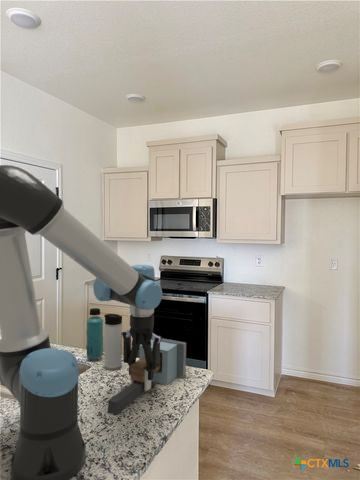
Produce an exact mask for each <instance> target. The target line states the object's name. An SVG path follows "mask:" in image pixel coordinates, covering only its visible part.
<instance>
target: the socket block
mask: <svg viewBox="0 0 360 480" xmlns="http://www.w3.org/2000/svg"><path fill="white" fill-rule="evenodd" d="M152 341H153V340H151V350H152V351H153V342H152ZM160 353H162V368H161V369H160V370H158V371H157V372H156V373H154V374H153V379H152V380H151V382H153V383H158V384H161V385H166V386H168V385H169V384H171V382H173V381H174V380H175V379H176V378H178V377H177V344H172V343H166V342H160ZM138 354H139V356H138V360H139V359H141V358H143V357H144V356H145V354H144V349H143V348H142V345H141V344H140V345H139V349H138Z"/></svg>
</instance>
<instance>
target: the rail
mask: <svg viewBox="0 0 360 480" xmlns="http://www.w3.org/2000/svg"><path fill="white" fill-rule="evenodd" d="M145 392H146V391H145V381H144V382H143V383H142V382H139V381H134V382H133V383H132V384H131V383H130V384H129V385H128V386H126V387H125V388H123V389H122V390H120V391H118V392H117V394H115V395H114V396H112V397H110V398H109V399H108V401H107V413H108V414H111V415H115V416H117V415H118V414H120V413H121V412H122V411H123V410H124V409H126V408H127V407H128V406H129V405H130V404H132V403H133V402H135V401H136V400H137V399H138V398H139V397H140V396H141V395H143V394H144V393H145Z"/></svg>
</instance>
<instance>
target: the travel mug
mask: <svg viewBox="0 0 360 480" xmlns="http://www.w3.org/2000/svg"><path fill="white" fill-rule="evenodd" d="M103 316H104V362H103V363H104V370H106V371H117V370H118V371H119V370H120V369H121V368H122V366H123V365H122V361H123V360H122V359H123V358H122V357H123V355H122V354H123V351H122V350H123V349H122V348H123V336H122V333H123V315H119V314H118V313H106V314H104V315H103Z"/></svg>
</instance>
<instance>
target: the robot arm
mask: <svg viewBox="0 0 360 480" xmlns="http://www.w3.org/2000/svg"><path fill="white" fill-rule="evenodd" d="M27 232H28V233H29V234H30V235H32V236H36V235H40V236H41V237H43V238H44V239H45V240H47V241H48V242H49V243H50V244H51V245H53V246H54V247H56V248H57V249H58V250H59V251H61V252H63V253H64V254H65V256H68V257H69V259H72V260H73V261H74V262H76V264H78V265H79V266H81V267H82V268H83V269H85V270H86V271H87V272H89V273H90V274H91V275H92V276H94V277H95V279H94V280H93V285H92V286H93V294H94V296H95V297H94V298H96V300H98V301H99V302H110V301H114V302H115V301H116V302H118V303H121V304H122V303H123V304H126V305H128V306H129V313H130V315H129V326H130V328H129V330H125V331H122V340H123V349H122V350H123V351H122V354H123V355H122V357H123V358H122V359H123V360H122V361H123V363H124V364H127V366H128V376H130V370H131V365H132V364H133V363H135V362H136V361H137V357H138V354H139V345H142V348H143V349H144V354H145V359H146V365H147V369H146V370H145V392H148V391H149V390H151V389H152V381H151V380H152V379H153V373H154V370H155V369H156V368H157V367H159V363H160V342H161V340H162V338H163V337H162V336H161V335H157V334H155V331H154V325H155V320H154V319H155V315H154V313H155V309H156V308H157V307H158V306H159V305H160V304H161V301H162V297H163V290H162V287H161V285H160V284H159V283H158V282H156V278H155V274H156V273H155V267H154V266H153V265H151V264H134V265H130V264H129V263H128V262H127V261H125V259H123V258H122V257H121V256H119V254H117V253H116V252H115V251H114V250H113V249H112V248H111V247H109V245H107V244H106V243H104V241H103V240H101V239H100V238H99V237H98V236H97V235H95V234H94V233H93V232H92V231H91V230H90V229H89V228H88V227H86V226H85V225H84V224H83V223H82V222H81V221H79V220H78V219H77V218H76V217H75V216H73V214H71V213H70V212H69V211H68V210H66V209H65V203H64V200H62V198H60V197H59V196H58V194H56V193H55V192H53V191H52V190H51V189H50V188H49V187H47V185H45V183H43V182H42V181H41V180H39V179H38V178H37V177H36V176H34V175H33V174H32V173H30V172H29V171H27V170H25V169H23V168H22V167H19V166H15V165H11V164H10V165H9V164H1V165H0V334H1V339H0V383H1V384H2V385H3V386H4V387H5V388H6V389H7V390H8V391H9V392H10V393H11V395H12V396H13V397H14V399H16V401H17V402H18V403H19V436H18V440H17V442H16V447H15V451H14V453H12V454H13V455H12V457H11V461H10V477H11V480H70V479H71V478H73V477H75V475H77V474H78V473H79V472H80V471H81V469H82V468H83V466H84V465H85V462H86V457H87V456H86V452H87V451H86V450H87V449H86V444H85V443H86V442H85V440H84V438H83V435H82V431H81V429H80V425H79V421H78V420H79V419H78V418H79V416H78V412H79V411H78V410H79V409H78V408H79V379H80V371H79V363H78V360H77V357H76V356H75V355H74V354H73V353H72V352H71V351H68V350H66V349H63V348H61V349H59V348H57V347H56V348H55V347H51V343H50V336H49V335H50V334H49V332H48V331H47V330H45V329H43V328H41V322H40V317H39V310H38V304H37V296H36V294H35V293H36V292H35V287H34V285H35V284H34V281H33V273H32V269H31V264H30V263H31V262H30V258H29V256H30V255H29V251H28V244H27V238H26V237H27V236H26V233H27ZM152 338H153V341H152V342H153V354H152V350H151V339H152ZM134 381H135V380H131V379H130V384H132V383H133V382H134Z"/></svg>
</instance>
